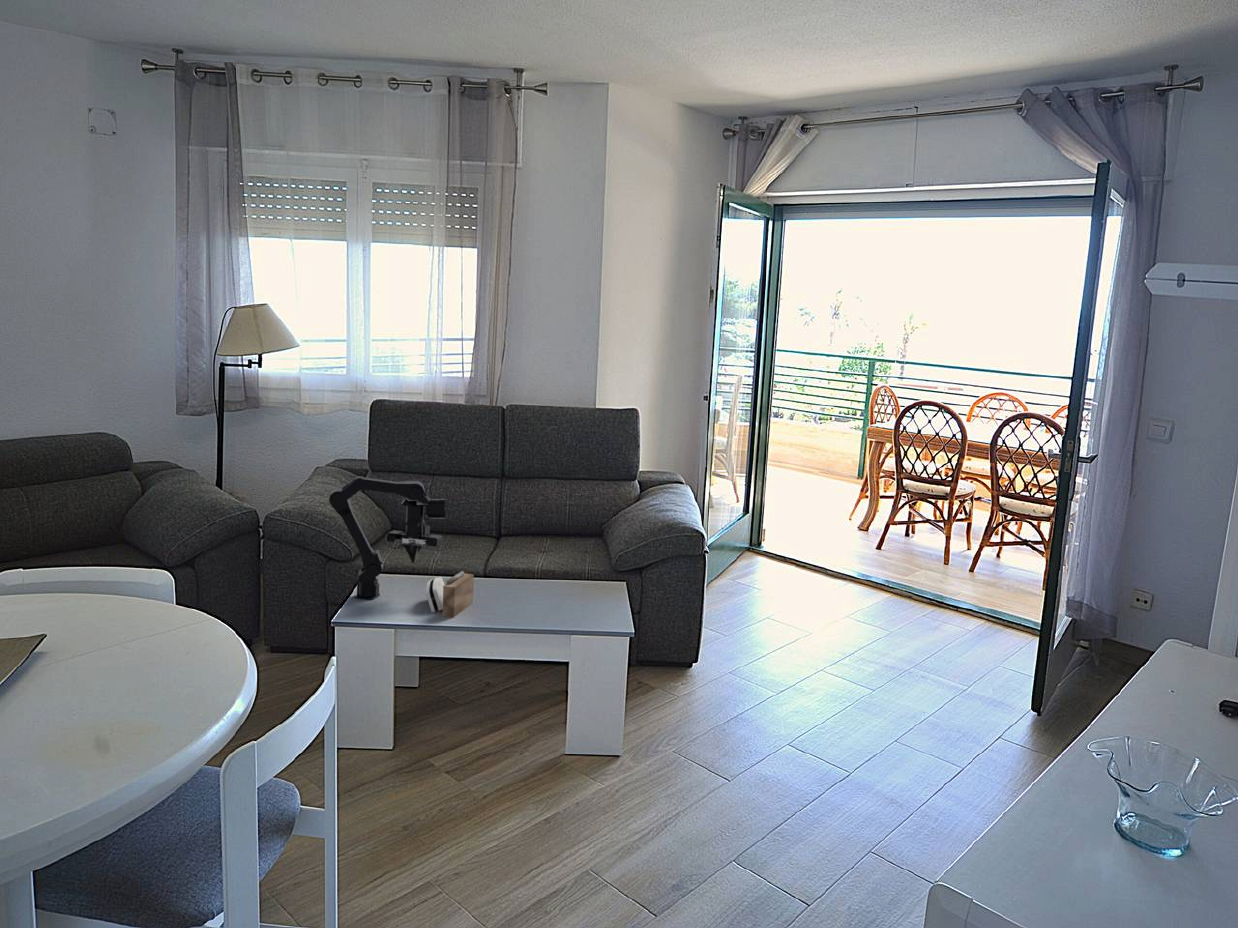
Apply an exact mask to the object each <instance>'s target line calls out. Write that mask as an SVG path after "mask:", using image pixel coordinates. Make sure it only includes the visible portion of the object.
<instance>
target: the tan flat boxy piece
mask: <svg viewBox="0 0 1238 928" xmlns="http://www.w3.org/2000/svg"><path fill="white" fill-rule="evenodd" d="M474 576H475V575H474V574H471V573H465V572H464V571H462V570H461V571H459V572H458V573H457V574H454V576H452V577H450V578H448V580H446V581H445V582H446V584H444V586H443V609H442V615H441V616H443V617H450V618H455V617H456V616H458V615H459V614H460V613H461V612H463V611H464V610H465V609H467V608H468V607H469V606H471V605H473V603H474V579H475V578H474Z"/></svg>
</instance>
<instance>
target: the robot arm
mask: <svg viewBox="0 0 1238 928" xmlns="http://www.w3.org/2000/svg"><path fill="white" fill-rule="evenodd" d="M361 490H363V491H370V492H379V493H385V494H386V493H388V494H392V495H398V496H401V497H403V498H404V499H403V501H401V504H400V506H402V507H406V517H405V518H406V519H405V521H404V526H405V533H404V531H403V530H402V531H401V530H396V529H395V530H394V529H393V530H392V531H388V532H387V533H386V535H385V542H391V543H394V542H396V541H397V540H402V541H401V542H402V543H400V544H401V546H403V547H404V549H405V550H406V552H407V554H408V556H409V559H410V560H411V563H412V564H416V562H417V559H418V557H419V554H420V552H421V550H422V548H423V547H424V546H426V545H427V547H438V546H440V545H442V544H444V538H443V536H442V535H440V534H430V532H431V526H430V525H428V524H426V520H424V513H425V516H426V517H427V518H428V519H435V520H436V519H437V520H438V519H440V520H441V519H442V520H445V519H446V499H445V498H430V497H429V495H428V494H427V493H426V491H425V487H424V484H423V483H422V482H421V481H419V480H406V481H405V480H404V481H393V480H386V479H380V478H379V479H377V478H372V477H364V476H361V475H360V476H356V477H355V478H354V479H353V480H352V481H350V482H348V483H347V484H345V485H344V486H343V487H338V488H335V489H333V491H332V492H331V494H330V495H329V497H328V503H329V504H330V506H331V507H332V508H333V509H334V511H335V512H336V513H337V514H338V516H340V517H341V519H342V520H343V523H344V525H345V526H346V528H347V530H348V532H349V534H350V536H351V538H352V540H353V542H354V543H355V546H356V548H357V550H358V552H359V554H360V557H361V563H362V568H361V569H359V572H358V576H357V578H356V595H354V598H355V599H362V600H374V599H375V598H377V597H379V596H380V595H381V593H380V583H379V579H378V578H377V577H379V576H380V574H382V571H383V568H384V567H383V566H384V558H383V556H381V553H380V549H377V550H374V549H373V548H372V547H371V545H370V543H369V541H368V539H367V537H366V534H365V533H364V531H363V529H362V526H361V525H360V522H359V521H358V518H357V517H356V516H355V514H354V511H353V507H352V503H351V498H352V497H354V495H356V494H357V493H358V492H360V491H361ZM424 507H425V508H424ZM424 509H425V511H424Z"/></svg>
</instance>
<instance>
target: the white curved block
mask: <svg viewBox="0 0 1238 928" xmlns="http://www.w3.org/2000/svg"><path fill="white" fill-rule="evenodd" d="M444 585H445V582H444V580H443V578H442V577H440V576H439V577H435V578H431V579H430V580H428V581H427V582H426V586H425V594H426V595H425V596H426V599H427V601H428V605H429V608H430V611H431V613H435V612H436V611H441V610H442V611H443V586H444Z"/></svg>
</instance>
